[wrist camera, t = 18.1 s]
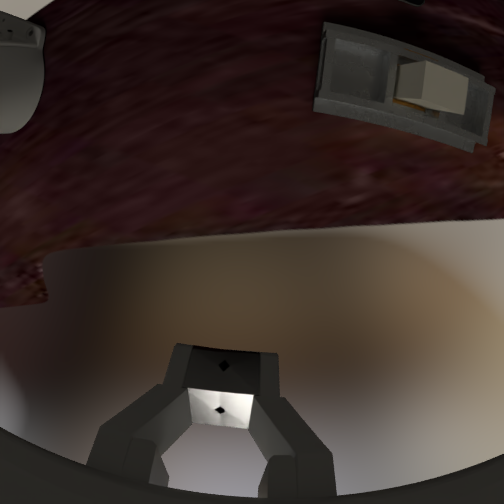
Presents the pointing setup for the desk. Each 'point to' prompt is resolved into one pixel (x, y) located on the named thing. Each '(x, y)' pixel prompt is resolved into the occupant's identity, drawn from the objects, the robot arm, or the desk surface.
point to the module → (431, 87)
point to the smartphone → (414, 2)
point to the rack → (382, 88)
